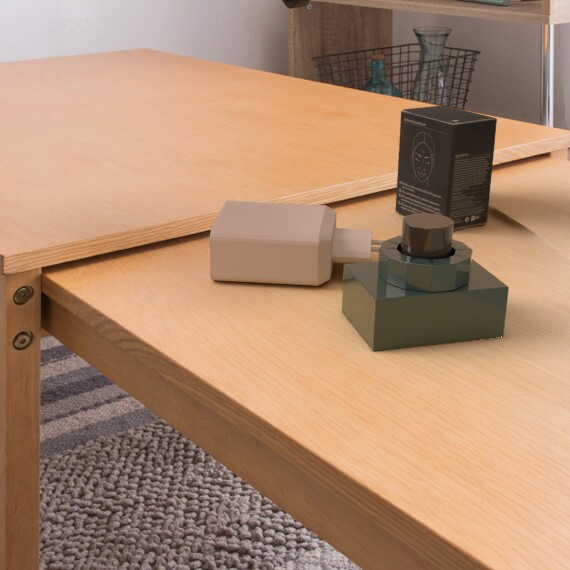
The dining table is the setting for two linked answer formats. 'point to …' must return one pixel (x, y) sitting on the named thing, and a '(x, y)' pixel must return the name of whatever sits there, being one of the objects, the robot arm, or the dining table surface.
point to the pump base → (422, 299)
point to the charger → (283, 243)
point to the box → (445, 164)
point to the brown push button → (427, 236)
